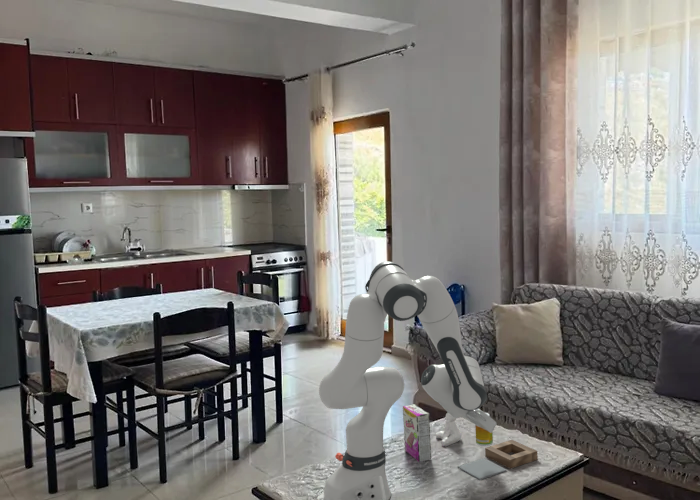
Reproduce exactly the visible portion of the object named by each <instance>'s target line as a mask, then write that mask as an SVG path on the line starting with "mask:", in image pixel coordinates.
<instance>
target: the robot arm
mask: <svg viewBox="0 0 700 500" xmlns="http://www.w3.org/2000/svg"><path fill="white" fill-rule="evenodd" d="M364 289H365V292H366V293H362V294H357V295H355V296H353V298H352V299H351V301H350V302H349V305H348V310H347V312H346V313H347V315H346V321H345V335H344V347H343V352H342V356H341V358H340V360H339V362H338V363H337V364H336V366H335V367H334V368H333V369H332V370H331V371H330V372H329V373H328V374H326V375H324V377H323V378H322V380H321V381H320V384H319V387H318V393H319V394H318V395H319V399H320V401H321V402H322V404H323V405H324V407H326V408H328V409H332V410H333V409H334V410H348V409H355V408H361V410H360V411H359V413H358V414H356V415H355V416H353V417H352V418H351V419H350V420H349V421H348V423H347V425H346V427H345V440H346V450H345V453H344V454H342V453H341V452H336V454H335V460H338V461H339V462H342V463H341V464H340V465H339V467H338V468H337V469H336V470H335V471H334V472H333V473H331V475H329V477H328V478H327V479H326V480H325V483H324V489H323V493H321V494H319V495H317V498H316V500H390V498H391V497H392V492H391V490H390V486H389V483H388V478H387V472H386V471H387V470H386V460H387V459H386V449H385V448H384V428H385V427H384V425H385V421H386V417H387V416H388V414H389V412H390V410H391V408H392V406H393V405H394V404H395V403H396V402H397V401H398V400H399V399H400V398H401V397H402V395H403V394H404V390H405V379H404V378H403V375H402V373H401V371H399V370H398V369H397V368H396V367H390V366H374V365H376V364H377V363H379V361H380V360H381V359H382V356H383V352H384V337H385V323H386V318H387V316H389V317H390V318H392V319H393V320H395V321H398V322H399V321H400V322H404V321H405V322H406V321H409V320H411V319H413V318H415V317H416V316H417V317H418V319H419V322H420V323H421V324H420V325H422V327H423V329H424V331H425V332H426V334H427V336H428V338H429V339H430V340H431V342H432V344H433V346H434V348H435V349H436V351H437V353H438V356H439V357H440V359H441V361H442V364H430V365H428V366H427V367H426V368H425V369H424V371H423V372H422V374H421V377H420V378H421V380H420V383H421V387H422V389H423V390H424V392H426V394H427V395H428V396H429V397H430V398H431V399H432V400H434V402H437V403H438V404H439V405H440V407H442V408H443V409H444V410H445V411H446V412H447V413H449V414H451V415H452V416H453V417H454V418H457V419H460V418H463V419H465V420H466V421H468V422H470V423H472V424H474V426H475V425H477V426H479V427H481V428H483V429H485V430H487V431H488V432H490V433H492V432H494V431H495V428H496V426H497V421H495V420H494V419H493V418H492V417H491V416H490V417H489V416H488V415H487V414H486V413H487V412H486V411H483V410H481V407H482V406H483V405H484V404H485V403H486V401H487V400H488V394H487V393H488V392H487V389H486V387H485V385H484V384H485V383H484V381H483V374H482V372H481V368H480V364H479V361H478V360H477V359H475V358H474V357H472V356H470V355H464V354H465V353H464V349H463V344H462V336H461V326H460V325H461V324H460V320H459V314H458V311H457V307H456V306H455V302H454V301H453V299H452V297H451V294H450V293H449V291H448V290H447V288H446V287H445V285H444V283H443V282H442V281H441V280H440V279H439V278H438V277H436V276H433V275H426V276H422V277H419V278H418V279H416V280H415V279H412V278H411V277H410V276H409V274H408V273H407V272H406V271H405V269H404V268H403V267H402V266H401V265H399V264H398V263H396V262H393V261H383V262H380V263H378V264H377V265H376V266H375V267H374V268H373V270H372V271H371V273H370V275H369V278H368V281H367V282H366V283H365V287H364Z"/></svg>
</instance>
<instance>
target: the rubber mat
mask: <svg viewBox="0 0 700 500" xmlns="http://www.w3.org/2000/svg"><path fill="white" fill-rule="evenodd" d="M457 468H458V470H461V471H463V472H464V473H466V474H468V475H470V476H472V477H474V478H475V479H477V480H479V481H482V480H483V479H484V480H485V479H487V478H490V477H494V476H496V475H499V474H502V473H505V472H507V470H508V469H506V468H504V467H502V465H501V466H500V465H498V464H496V462H494V461H491V460H490V459H489V460H488V459H486V457H483V458H480V459H476V460H473V461H470V462H468V463H464V464H460V465H458V466H457Z"/></svg>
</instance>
